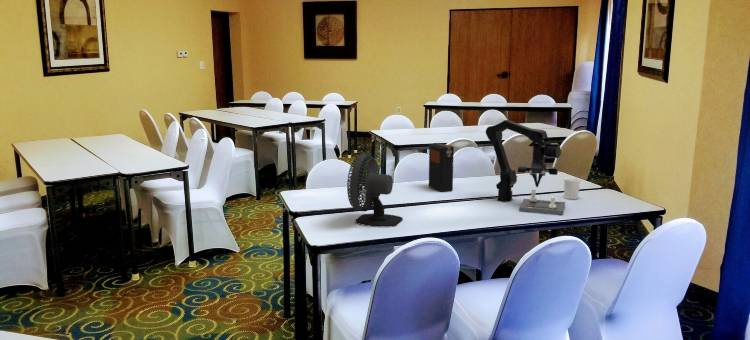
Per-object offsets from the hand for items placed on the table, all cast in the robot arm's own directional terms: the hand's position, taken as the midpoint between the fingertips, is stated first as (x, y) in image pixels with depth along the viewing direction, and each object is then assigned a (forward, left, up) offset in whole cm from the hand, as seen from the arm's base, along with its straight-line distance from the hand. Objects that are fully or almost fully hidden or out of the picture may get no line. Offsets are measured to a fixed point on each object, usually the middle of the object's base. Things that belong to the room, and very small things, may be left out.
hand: (537, 187), depth 297 cm
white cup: (+15, +22, -10) cm, 29 cm away
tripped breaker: (-2, 0, -7) cm, 7 cm away
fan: (-68, -53, -10) cm, 86 cm away
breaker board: (+3, -5, -10) cm, 11 cm away
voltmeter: (-54, +18, -10) cm, 58 cm away
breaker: (+8, -10, -7) cm, 15 cm away
